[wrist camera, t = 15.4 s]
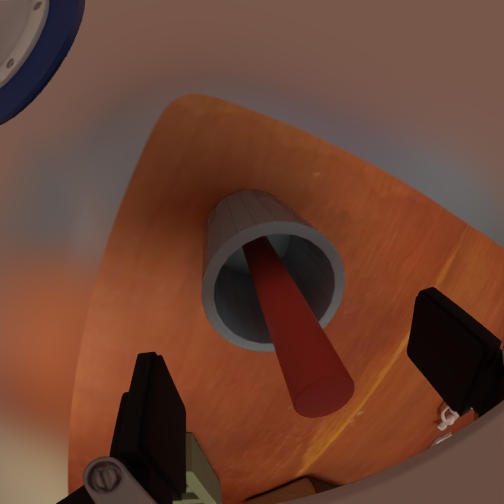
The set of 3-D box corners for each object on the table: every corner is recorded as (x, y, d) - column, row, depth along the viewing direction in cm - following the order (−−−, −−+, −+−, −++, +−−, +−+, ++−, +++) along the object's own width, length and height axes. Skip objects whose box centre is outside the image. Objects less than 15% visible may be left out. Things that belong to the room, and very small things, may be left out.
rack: (181, 484, 36) (182, 513, 31) (144, 435, 31) (139, 472, 25) (220, 481, 37) (223, 511, 31) (191, 432, 31) (192, 471, 26)
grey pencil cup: (213, 283, 25) (218, 362, 16) (196, 198, 22) (186, 237, 13) (298, 267, 25) (344, 334, 16) (289, 183, 23) (342, 210, 13)
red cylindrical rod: (244, 255, 23) (299, 425, 9) (237, 231, 23) (289, 389, 8) (268, 248, 24) (355, 405, 9) (262, 224, 23) (354, 366, 8)
